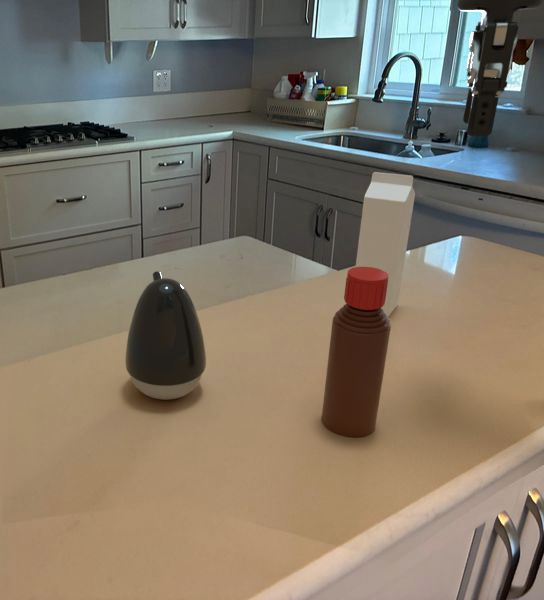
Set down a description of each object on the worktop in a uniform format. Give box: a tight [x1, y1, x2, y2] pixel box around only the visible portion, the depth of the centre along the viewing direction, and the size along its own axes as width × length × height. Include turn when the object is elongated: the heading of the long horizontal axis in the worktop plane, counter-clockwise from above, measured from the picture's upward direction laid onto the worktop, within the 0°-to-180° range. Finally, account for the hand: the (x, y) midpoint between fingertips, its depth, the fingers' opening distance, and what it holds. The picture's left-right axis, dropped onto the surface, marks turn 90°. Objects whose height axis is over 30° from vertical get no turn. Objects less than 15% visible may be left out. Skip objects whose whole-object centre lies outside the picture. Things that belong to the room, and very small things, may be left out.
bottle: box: [321, 303, 392, 438], centre depth 68 cm, size 6×6×18 cm
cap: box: [343, 266, 388, 310], centre depth 65 cm, size 4×4×3 cm
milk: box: [355, 171, 416, 318], centre depth 96 cm, size 6×6×22 cm
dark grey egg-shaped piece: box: [124, 270, 207, 401], centre depth 76 cm, size 10×10×15 cm
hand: (475, 129), depth 65 cm, fingers open, 8 cm apart
